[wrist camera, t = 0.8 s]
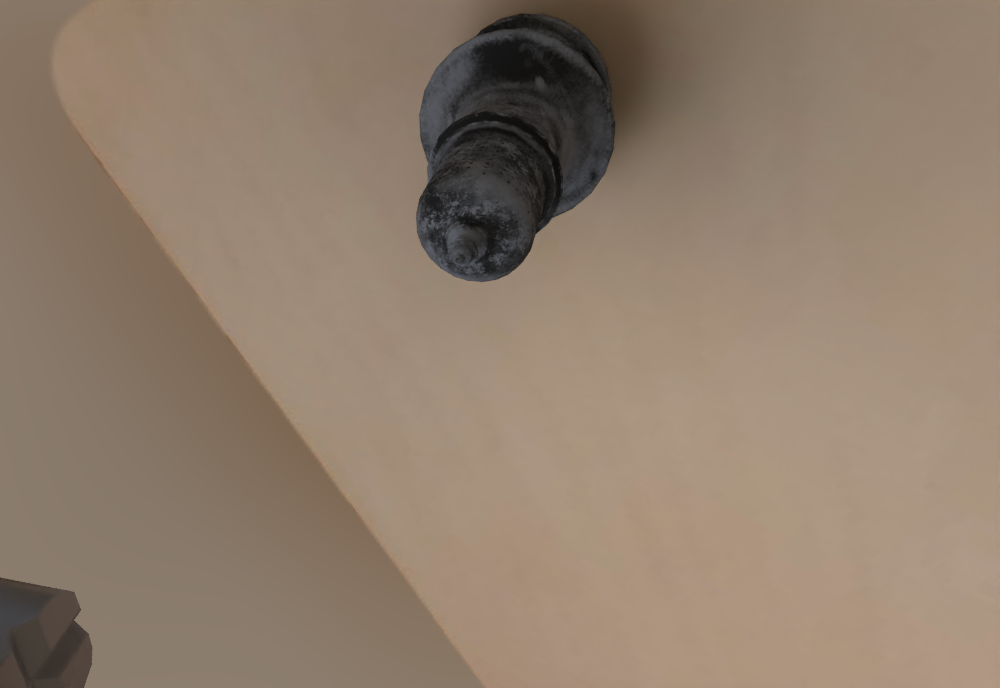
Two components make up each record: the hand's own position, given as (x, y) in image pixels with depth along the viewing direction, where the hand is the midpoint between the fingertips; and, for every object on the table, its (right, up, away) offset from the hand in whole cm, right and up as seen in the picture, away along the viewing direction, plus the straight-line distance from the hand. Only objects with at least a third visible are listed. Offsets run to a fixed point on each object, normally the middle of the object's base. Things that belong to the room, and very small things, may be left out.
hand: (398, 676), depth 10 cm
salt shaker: (+2, +12, +18) cm, 22 cm away
